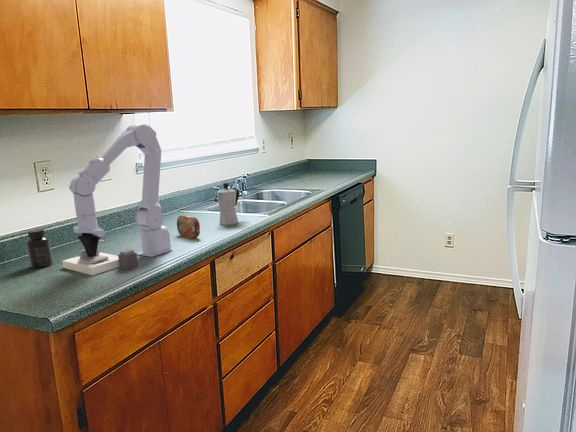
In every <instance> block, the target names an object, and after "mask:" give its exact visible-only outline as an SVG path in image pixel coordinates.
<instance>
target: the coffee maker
mask: <svg viewBox="0 0 576 432" xmlns="http://www.w3.org/2000/svg"><path fill="white" fill-rule="evenodd" d="M222 184H223V185H222V186H223V188H222V189H220V190H217V191H216V192H215V194H216V198H217V202H218V206H219V207H220V211H219V225H220V226H227V227H228V226H235V225H237V224H239V220H238V215H237V211H236V208H235V207H236V206H237V204H238V200H239V198H240V197H239V196H240V192H239V189H238V188H233V187H232V188H229V182H224V183H222Z"/></svg>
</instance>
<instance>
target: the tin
mask: <svg viewBox="0 0 576 432" xmlns="http://www.w3.org/2000/svg"><path fill="white" fill-rule="evenodd" d="M177 217H178V218H177V219H176V229H177V233H178V234H179V235H180V237H183V238H188V239H190V240H191V239H196V238H198V237H199V236H200V235H201V234H200V233H201V228H200V225H201V224H200V221H199V220H198V218H197V217H195V216H191V215H190V216H189V215H179V216H177Z"/></svg>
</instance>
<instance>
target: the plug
mask: <svg viewBox="0 0 576 432" xmlns="http://www.w3.org/2000/svg"><path fill="white" fill-rule="evenodd" d="M137 253H138V252H135V250H134V249H129V248H128V249H124V250H120V251H119V254H117V256H118V259H119V266H120V267H119V269H122V270H125V271H129V270H132V269H135V268H138V267H139V263H138V262H139V260H138V254H137Z"/></svg>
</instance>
